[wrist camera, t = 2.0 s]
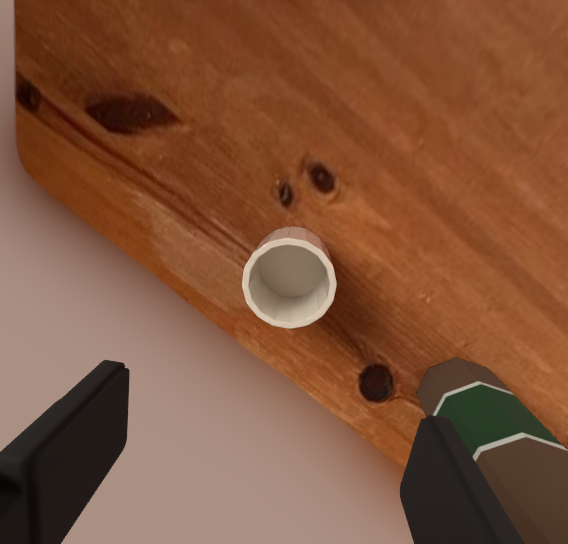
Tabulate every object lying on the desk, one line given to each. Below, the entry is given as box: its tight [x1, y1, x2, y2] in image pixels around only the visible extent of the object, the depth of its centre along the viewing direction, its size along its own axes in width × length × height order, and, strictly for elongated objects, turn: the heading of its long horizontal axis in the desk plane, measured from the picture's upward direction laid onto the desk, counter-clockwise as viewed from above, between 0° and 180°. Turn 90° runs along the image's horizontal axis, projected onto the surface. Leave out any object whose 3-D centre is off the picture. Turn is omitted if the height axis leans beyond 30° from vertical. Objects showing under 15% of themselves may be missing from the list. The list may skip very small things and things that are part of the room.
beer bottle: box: [416, 358, 568, 544], centre depth 23 cm, size 8×8×24 cm
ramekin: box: [242, 227, 337, 329], centre depth 29 cm, size 7×7×6 cm
